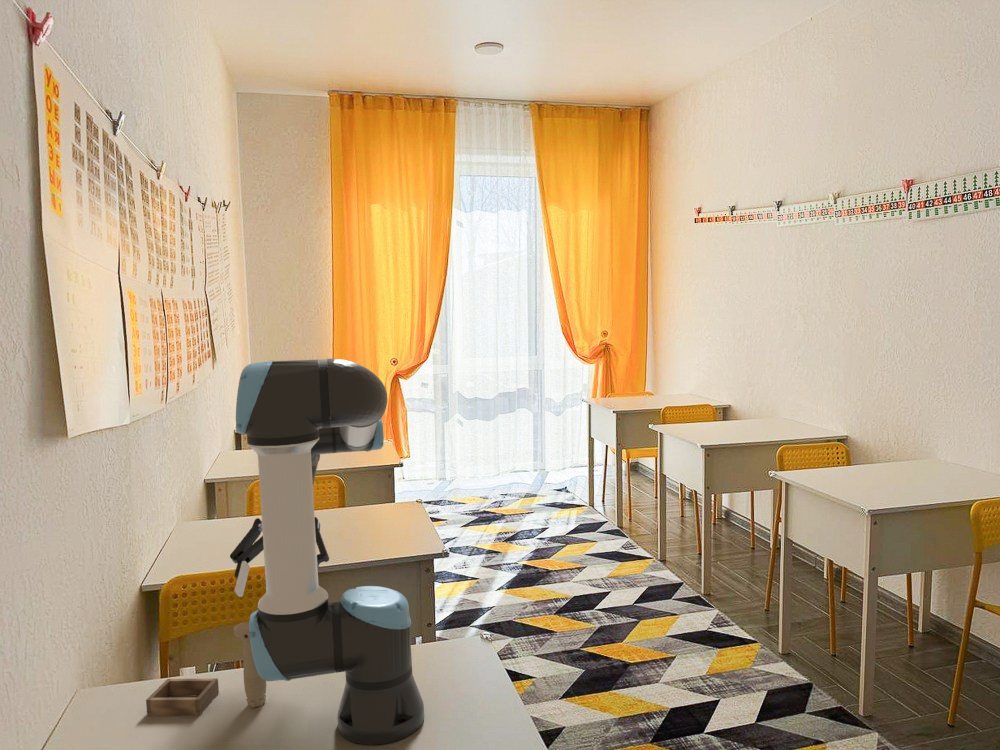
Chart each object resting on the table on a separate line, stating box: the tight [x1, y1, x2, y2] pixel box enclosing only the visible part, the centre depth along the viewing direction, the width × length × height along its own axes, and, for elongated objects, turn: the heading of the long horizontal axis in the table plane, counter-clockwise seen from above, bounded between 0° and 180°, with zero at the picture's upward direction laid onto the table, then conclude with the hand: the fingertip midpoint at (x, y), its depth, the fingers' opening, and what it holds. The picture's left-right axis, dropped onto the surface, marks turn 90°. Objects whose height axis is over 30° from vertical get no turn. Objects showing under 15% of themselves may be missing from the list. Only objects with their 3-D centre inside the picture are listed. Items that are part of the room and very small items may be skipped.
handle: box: [233, 621, 267, 708], centre depth 136 cm, size 5×6×15 cm
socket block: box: [145, 677, 220, 717], centre depth 138 cm, size 10×8×3 cm
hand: (271, 593), depth 146 cm, fingers open, 13 cm apart
